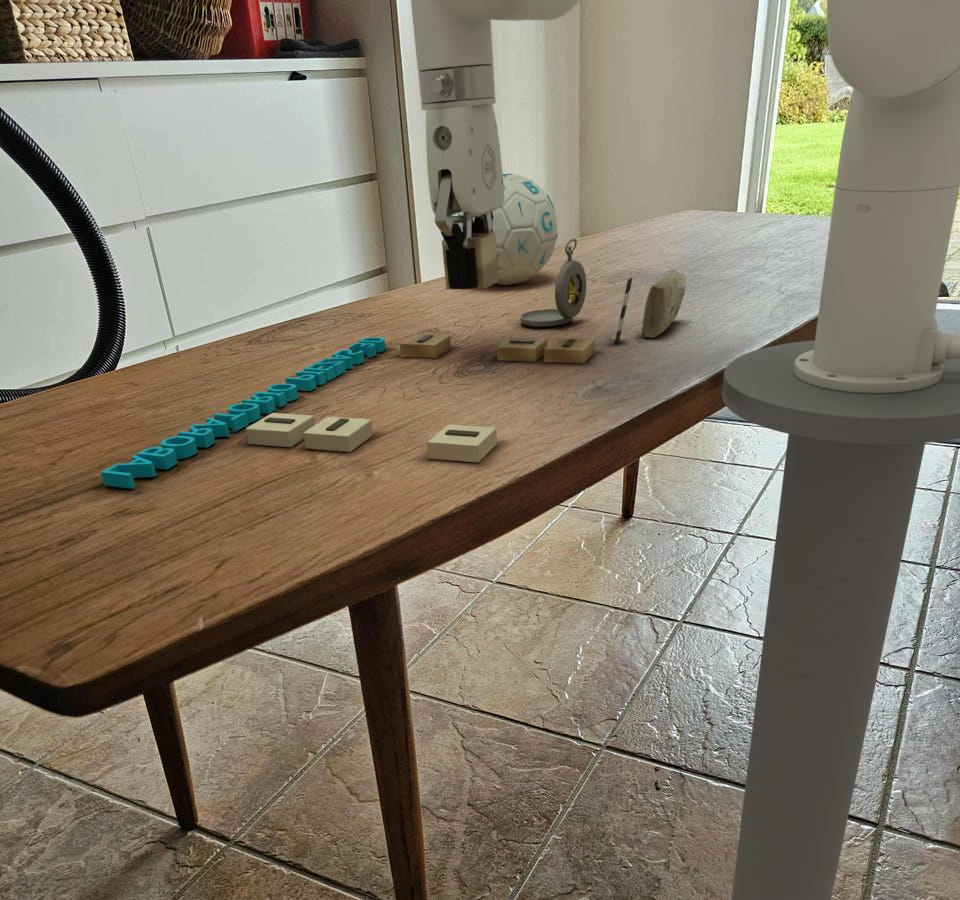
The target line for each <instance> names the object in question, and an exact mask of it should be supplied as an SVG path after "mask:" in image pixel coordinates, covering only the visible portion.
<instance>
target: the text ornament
mask: <svg viewBox="0 0 960 900" xmlns="http://www.w3.org/2000/svg"><path fill="white" fill-rule="evenodd" d="M385 350H387V346H386V340H385V338H384V337H380V336H377V337H376V336H372V337H371V336H370V337H366V338H362V339H360V340H358V341H357V342H355V343H352V344H350V345H349V346H348V349H341V350H337V351H336V352H335V353H332V354H331V357H326V358H322V359H320V360H318V361H317V362H315V363H313V364H310V365H309V366H307V367H304V368H303V369H301V370H299V371H296V372H295V377H289V376H287V377H285V379H284V380H285V383H284V382H283V383H275V384H271V385H269V386H267V387H266V391H267V392H266V391H264V390H259V391H257V392H255V393H254V394H252V395H250V399H248V398H244V399H242V400H241V402H240V403H239V402H238V403H234V404H232V405H230V406H228V407H227V413H217V412H216V413H214V414H213V418H212V417H207V418H205V423H197V424H196V423H195V424H193V425H191V426H188V431H183V430H182V431H179V432H177V435H176V436H175V435H174V436H170V437H166V438H164V439H162V440H161V441H160V446H151V447H148V448H145V449H143V450H142V451H141V450H140V451H139V452H138V453H136V454H133V455H131V456H130V458H131V459H130V460H131V461H129V462H127V463H126V462H120V463H119V462H118V463H116V464H114V465H111V466H110V467H108V468H106V469H104V470H102V471H100V474H101V478H102V482H103V484H104V486H108V487H116V488H122V489H123V488H124V489H134V488H136V483H135V479H136V478H154V477H155V476H157V473H156V469H161V470H169V469H171V468H172V467H174V466H175V465H177V464H178V459H186V458H190V457H193V456H194V455H196V454H197V453H198V449H197V448H207V449H208V448H209V447H211V446H212V445H214V444H215V443H216V440H215V438H223V437H225V438H227V437H229V436H230V431H229V429H231V431H232V432H238V431H240V430H241V429H243V428H245V427H248V425H249V426H250V424H249V423H252V422H257V421H259V420H261V419H262V417H261V414H267V415H270V414H271V413H274V412H275V410H276V406H277V407H278V408H282V407H284V406H285V405H287V404H288V402H291V401H295V400H297V399H298V398H299V395H298V391H307V392H310V391H311V392H312V391H313V390H315V389H316V388H317V385H318V386H322V385H324V384H326V383H327V382H329V381H332V380H333V379H334V378H336V377H338V376H340V375H342V374H344V373H345V372H347V370H348V369H353V368H354V366H353V365H360V364H362V363H364V362H365V356H367V358H372V357H375V356H377V353H382V352H383V351H385ZM134 478H135V479H134Z"/></svg>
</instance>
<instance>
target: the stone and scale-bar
mask: <svg viewBox="0 0 960 900" xmlns="http://www.w3.org/2000/svg"><path fill="white" fill-rule="evenodd" d="M632 282H633V277H630V278H628V279H627V282H626V285H625V291H624V297H623V301H622V306H621V311H620V316H619V320H618V326H617V331H616V334H615V335H616V336H615V340H614V345H617V344H618V343H619V342H620V340H621V335H622V330H623V325H624V321H625V316H626V311H627V307H628V302H629V297H630V291H631V287H632ZM686 284H687V283H686V276H685V274H684V273H681V272H679V271H678V270H675V269H672V270H671V271H669V273H667V274H666V275H665V276H663V277H662V278H661V279H658V280H657V281H656V282H655V283H653V284H652V285H651V286H650V289H649V291H648V294H647V297H646V299H645V303H644V311H643V318H642V326H641V336H642V337H643V338H649V339H654V338H656V337H658V336H659V335H661V334H662V333H663V332H664V331H666V330H667V329H669V327H670V326H671V325H672V324H673V322H674V321H675V320H676V318H677V316H678V314H679V311H680V308H681V305H682V302H683V301H684V300H683V299H684V296H685V293H686Z"/></svg>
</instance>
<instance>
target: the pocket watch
mask: <svg viewBox="0 0 960 900" xmlns="http://www.w3.org/2000/svg"><path fill="white" fill-rule="evenodd" d="M572 242H574V246H573V247H572V246H571V245H570V244H571V243H572ZM577 244H578V241H577V239H575V238H571V239H570V240H568V242H567V243H566V245H565V247H564V251H565V252H564V253H565V254H566V256H567V261H565V262H563V264H562V266H561V268H560V269H559V271H558V274H557V276H556V280H555V285H554V301H555V306H556V308H547V309H546V308H545V309H536V310H530V311H527V312H524V313H522V314H520V317H519V318H520V319H519V320H520V322H521V323H522V324H523V325H526V326H529V327H536V328H541V327H542V328H547V327H548V328H550V327H551V328H552V327H557V326H561V325H565V324H567V323H570V322H571V321H573V319H574V318H575V317H576V316H578V314H579V313H581V310H582V309H583V306H584V303H585V300H586V295H587V275H586V270H585V268H584V266H583V265H582V263H581V262H580V261H577V260H576V259H573V258H572V257H573V256H572V255H574V251H575V250H576V248H577Z"/></svg>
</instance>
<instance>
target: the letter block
mask: <svg viewBox="0 0 960 900" xmlns="http://www.w3.org/2000/svg"><path fill="white" fill-rule="evenodd" d="M441 246H442V258H443V259H442V260H443V268H444V269H443V270H444V279H445V289H446V291H447V290H449V291H450V290H452V289H451V288H450V287H449V282H448V271H447V261H446V250H445V249H444V246H443V239H442V240H441ZM471 248H475V253H476V267H477V280H478V286H477V287H476V288H474V289H473V290H485V289H487V288H488V287H489V288H490V287H491V286H493V285H495V284H497V283H496V282H497V281H499V280H498V265H497V249H496V234H495V233H471Z"/></svg>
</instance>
